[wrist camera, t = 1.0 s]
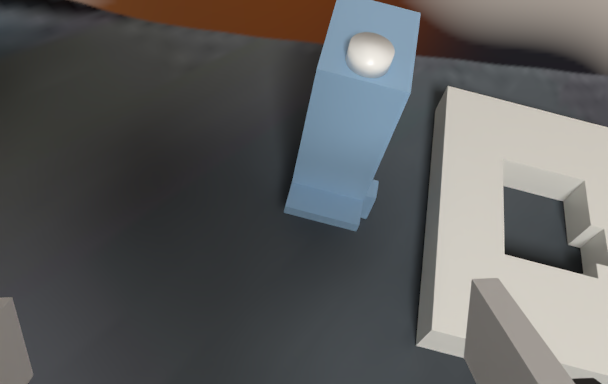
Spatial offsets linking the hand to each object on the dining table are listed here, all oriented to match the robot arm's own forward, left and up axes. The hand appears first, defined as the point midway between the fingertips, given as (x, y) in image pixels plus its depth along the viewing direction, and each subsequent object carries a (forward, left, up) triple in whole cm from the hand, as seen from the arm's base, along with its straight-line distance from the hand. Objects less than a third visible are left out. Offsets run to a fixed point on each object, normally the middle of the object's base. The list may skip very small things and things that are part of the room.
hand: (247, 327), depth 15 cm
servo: (-15, +11, -17) cm, 26 cm away
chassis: (-7, +25, -17) cm, 32 cm away
